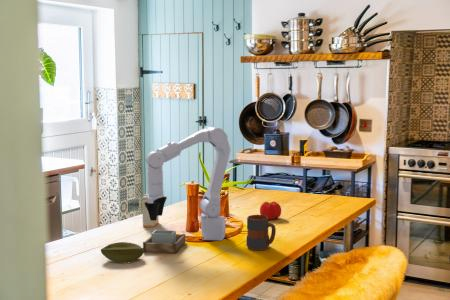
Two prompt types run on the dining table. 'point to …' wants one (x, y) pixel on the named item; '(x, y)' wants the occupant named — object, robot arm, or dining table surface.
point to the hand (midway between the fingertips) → (156, 217)
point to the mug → (259, 232)
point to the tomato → (270, 210)
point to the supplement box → (147, 214)
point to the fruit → (122, 252)
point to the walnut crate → (164, 245)
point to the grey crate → (164, 236)
